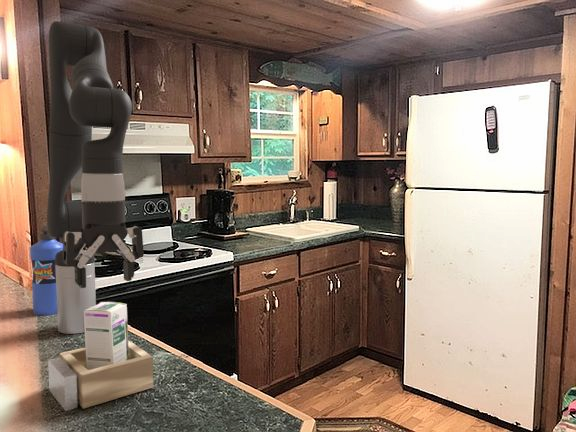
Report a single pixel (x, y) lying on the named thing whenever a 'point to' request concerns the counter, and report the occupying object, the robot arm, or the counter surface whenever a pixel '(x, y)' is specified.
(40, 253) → the water bottle
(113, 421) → the counter surface
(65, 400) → the backstop wall
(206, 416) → the counter surface
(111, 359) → the syrup box
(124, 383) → the open wooden box
